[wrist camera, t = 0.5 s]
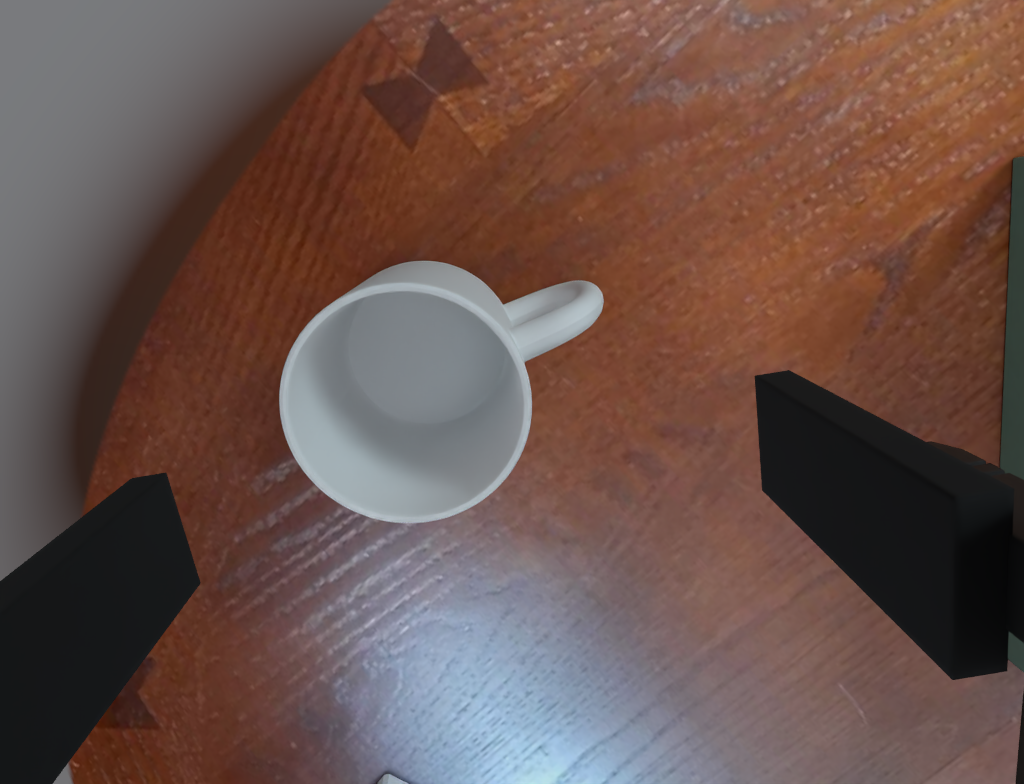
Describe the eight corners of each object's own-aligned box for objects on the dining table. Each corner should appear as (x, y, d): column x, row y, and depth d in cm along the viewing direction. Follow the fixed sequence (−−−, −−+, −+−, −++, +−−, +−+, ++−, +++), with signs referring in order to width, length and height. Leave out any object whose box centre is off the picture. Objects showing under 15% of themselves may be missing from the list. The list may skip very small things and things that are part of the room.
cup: (306, 305, 32) (230, 349, 22) (544, 192, 31) (575, 186, 21) (389, 458, 34) (353, 561, 24) (614, 356, 33) (672, 419, 23)
